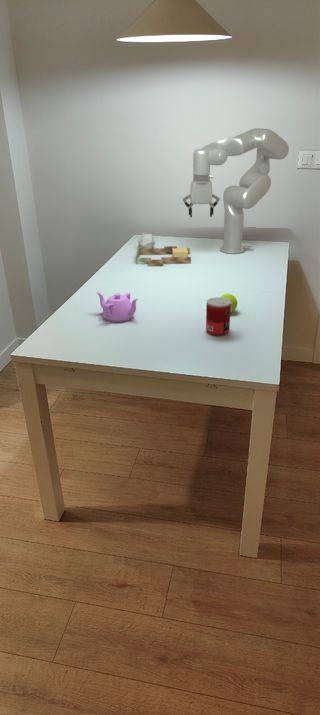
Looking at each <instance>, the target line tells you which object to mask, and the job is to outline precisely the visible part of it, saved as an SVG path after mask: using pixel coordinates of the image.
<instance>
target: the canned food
mask: <svg viewBox="0 0 320 715" xmlns="http://www.w3.org/2000/svg"><path fill="white" fill-rule="evenodd" d="M230 310H231V301H230V300H228V299H226V298H220V297H219V296H217V297H210V298H208V299H207V300H206V315H205V331H206V333H207V334H208V335H211V336H215V337H223V336H226V335H228V334H229V332H230V328H231V326H230V325H231V313H230Z"/></svg>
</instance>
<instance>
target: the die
mask: <svg viewBox="0 0 320 715" xmlns="http://www.w3.org/2000/svg"><path fill="white" fill-rule="evenodd" d="M136 242H137V244H138V245H139V246H138V247H139V249H148V248H153V247H154V246H155V245H156V241H155V238H154V236H153V233H142V234H141V236H139V237H138V239H137V241H136Z"/></svg>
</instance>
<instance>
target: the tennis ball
mask: <svg viewBox="0 0 320 715" xmlns="http://www.w3.org/2000/svg"><path fill="white" fill-rule="evenodd" d="M219 298H226V299H228V300H230V301H231V310H230V314H231V313H233V312H235V311H236V309H237V308H238V299H237V297H235V296H234V295H233V294H231V293H225V294H222V295H221V296H220V297H219Z"/></svg>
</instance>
